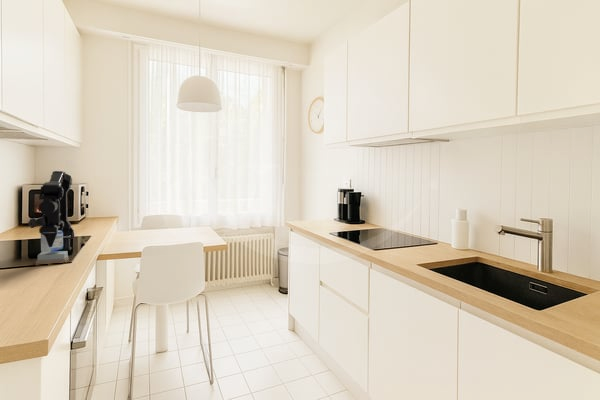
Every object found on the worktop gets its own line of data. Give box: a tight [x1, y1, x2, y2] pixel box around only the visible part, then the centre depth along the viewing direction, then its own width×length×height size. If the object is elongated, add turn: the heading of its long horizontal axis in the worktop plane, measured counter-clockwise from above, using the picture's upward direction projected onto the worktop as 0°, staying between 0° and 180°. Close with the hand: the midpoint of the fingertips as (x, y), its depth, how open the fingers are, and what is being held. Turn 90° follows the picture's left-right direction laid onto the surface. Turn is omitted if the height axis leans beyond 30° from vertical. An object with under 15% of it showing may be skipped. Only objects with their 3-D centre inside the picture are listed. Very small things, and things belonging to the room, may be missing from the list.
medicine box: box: [40, 231, 63, 253], centre depth 150 cm, size 8×4×9 cm, turn 179°
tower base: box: [35, 255, 69, 266], centre depth 151 cm, size 7×11×2 cm, turn 117°
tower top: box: [37, 250, 69, 261], centre depth 151 cm, size 6×10×2 cm, turn 114°
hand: (52, 244), depth 150 cm, fingers closed on medicine box, 9 cm apart
